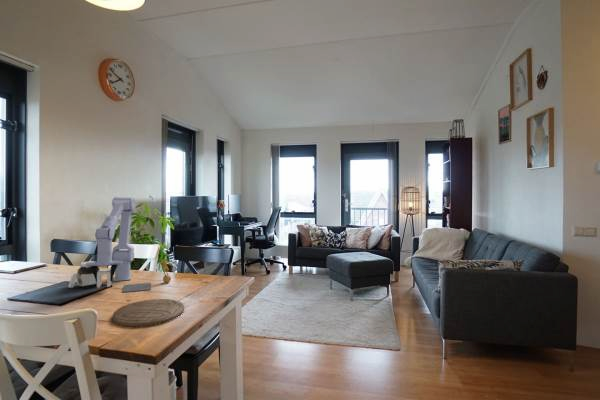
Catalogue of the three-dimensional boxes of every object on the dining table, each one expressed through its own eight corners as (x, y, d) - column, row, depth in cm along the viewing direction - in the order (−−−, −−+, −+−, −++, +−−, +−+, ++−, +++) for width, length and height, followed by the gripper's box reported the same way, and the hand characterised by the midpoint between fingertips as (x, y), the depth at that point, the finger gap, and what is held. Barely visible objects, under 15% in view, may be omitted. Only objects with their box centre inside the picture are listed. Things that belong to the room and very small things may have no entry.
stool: (98, 284, 149) (98, 269, 149) (111, 283, 152) (111, 269, 152) (96, 287, 145) (97, 272, 145) (109, 286, 147) (110, 271, 147)
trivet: (131, 303, 134) (131, 298, 134) (191, 303, 136) (191, 299, 135) (98, 328, 109) (98, 322, 109) (171, 327, 111) (172, 322, 111)
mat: (124, 285, 157) (124, 284, 157) (151, 283, 162) (151, 282, 162) (122, 292, 146) (122, 291, 146) (150, 290, 151) (150, 289, 151)
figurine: (162, 284, 160) (162, 261, 160) (154, 283, 163) (155, 260, 163) (176, 281, 167) (176, 258, 167) (169, 279, 170) (169, 257, 170)
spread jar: (102, 285, 157) (103, 262, 156) (78, 291, 146) (79, 266, 146) (87, 282, 162) (88, 259, 161) (63, 287, 151) (64, 263, 151)
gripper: (84, 255, 141) (84, 285, 141) (121, 253, 147) (121, 282, 148) (87, 252, 148) (87, 281, 148) (122, 250, 154) (122, 278, 154)
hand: (104, 281), depth 148 cm, fingers closed on stool, 5 cm apart
